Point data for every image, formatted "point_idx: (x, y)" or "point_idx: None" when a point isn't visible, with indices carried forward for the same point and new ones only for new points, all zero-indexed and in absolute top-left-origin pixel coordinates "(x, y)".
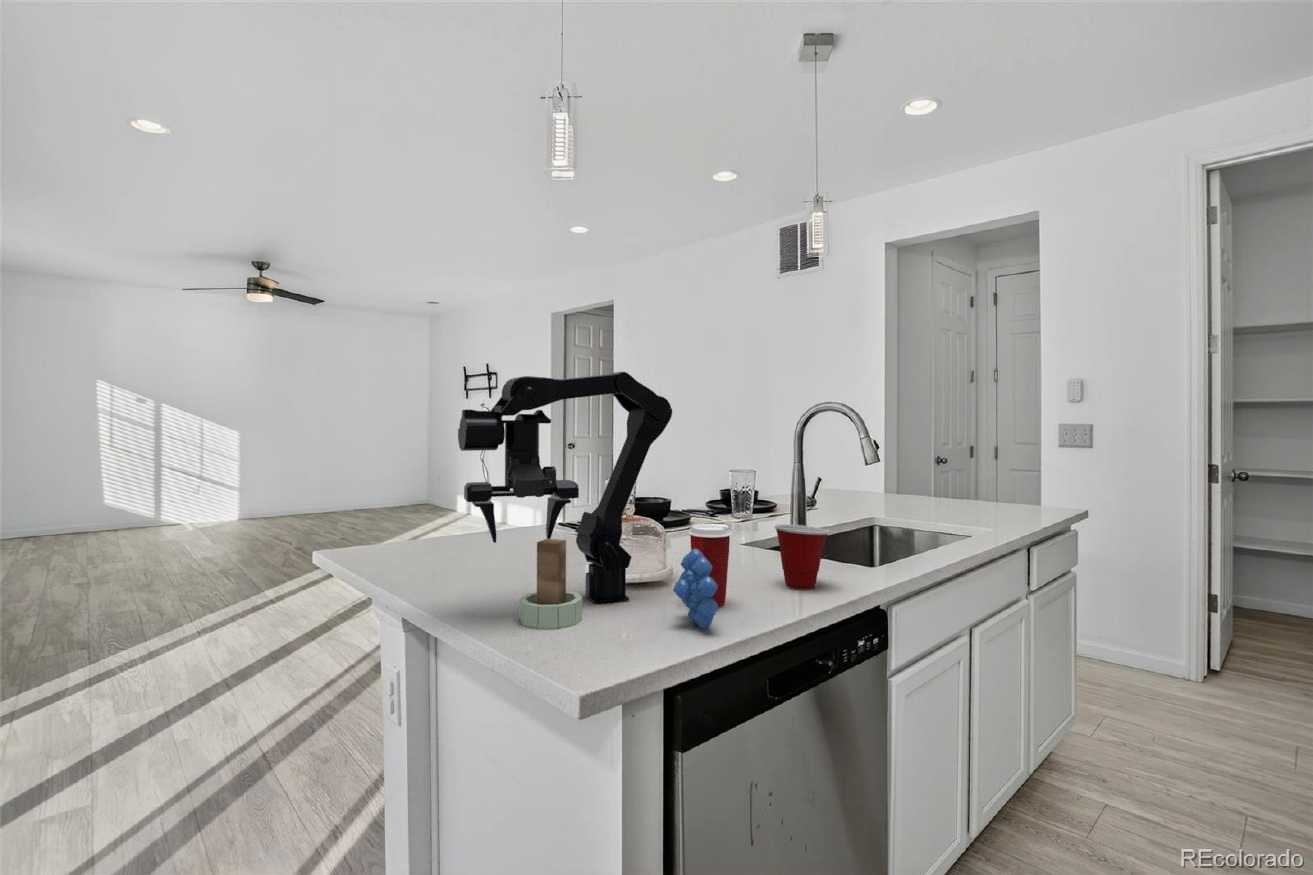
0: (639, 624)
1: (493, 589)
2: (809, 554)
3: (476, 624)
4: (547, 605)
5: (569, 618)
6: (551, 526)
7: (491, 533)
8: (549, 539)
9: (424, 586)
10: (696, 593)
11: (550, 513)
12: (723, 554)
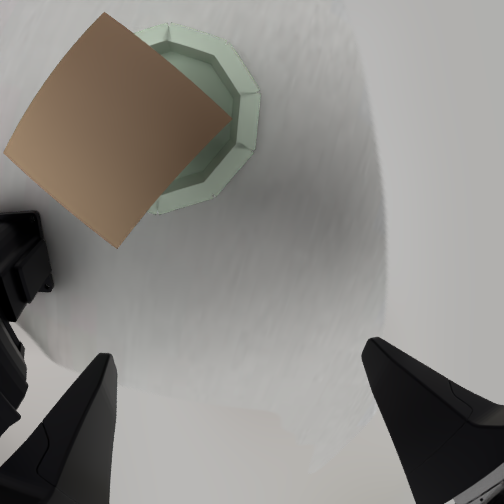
0: (7, 35)
1: (237, 377)
2: None
3: (340, 155)
4: (197, 40)
5: None
6: (77, 400)
7: (411, 357)
8: (103, 210)
9: (331, 399)
10: None
11: (73, 481)
12: None
